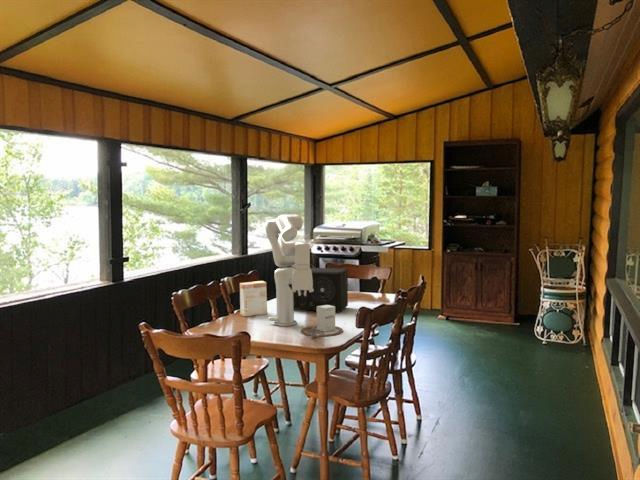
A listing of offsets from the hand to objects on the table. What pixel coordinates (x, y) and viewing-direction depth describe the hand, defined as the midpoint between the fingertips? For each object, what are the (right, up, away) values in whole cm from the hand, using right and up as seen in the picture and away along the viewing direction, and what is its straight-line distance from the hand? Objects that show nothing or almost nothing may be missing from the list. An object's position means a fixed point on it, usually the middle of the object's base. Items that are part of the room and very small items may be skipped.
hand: (302, 303), depth 272 cm
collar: (+9, -16, +10) cm, 21 cm away
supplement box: (+12, -16, +15) cm, 25 cm away
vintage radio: (+6, -12, +68) cm, 70 cm away
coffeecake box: (-32, -13, +56) cm, 66 cm away
